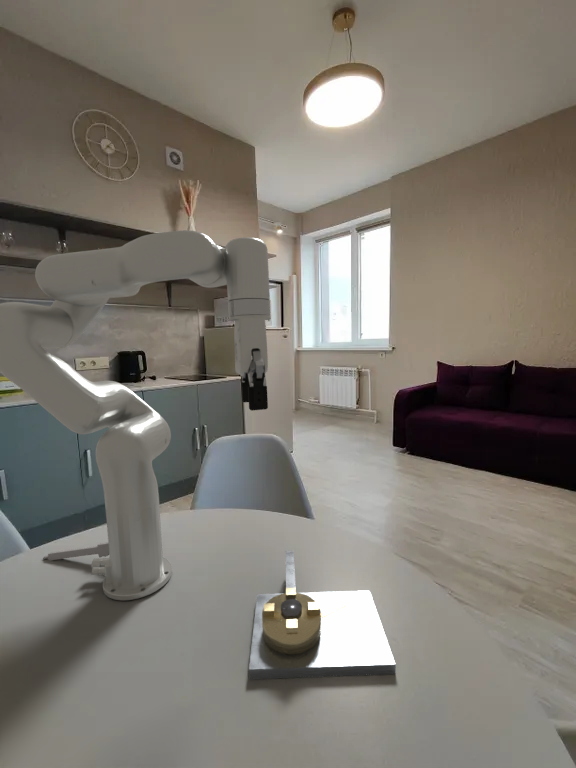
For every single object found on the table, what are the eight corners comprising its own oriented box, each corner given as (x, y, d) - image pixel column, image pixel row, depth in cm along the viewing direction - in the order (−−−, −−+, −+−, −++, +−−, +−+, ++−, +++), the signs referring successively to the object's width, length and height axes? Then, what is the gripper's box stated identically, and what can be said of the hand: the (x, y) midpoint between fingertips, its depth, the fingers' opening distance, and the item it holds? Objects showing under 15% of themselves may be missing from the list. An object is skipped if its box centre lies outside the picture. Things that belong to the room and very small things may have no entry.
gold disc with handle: (260, 655, 51) (259, 630, 51) (267, 567, 71) (266, 548, 71) (324, 652, 51) (323, 628, 51) (312, 565, 72) (312, 547, 71)
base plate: (249, 679, 49) (248, 668, 49) (257, 602, 64) (257, 593, 64) (395, 674, 49) (395, 663, 49) (369, 598, 64) (369, 589, 64)
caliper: (130, 565, 77) (131, 534, 77) (127, 567, 76) (128, 536, 76) (46, 558, 80) (48, 529, 81) (42, 560, 79) (44, 530, 80)
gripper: (225, 316, 73) (229, 400, 74) (233, 306, 56) (239, 415, 58) (261, 315, 74) (265, 398, 76) (280, 305, 58) (284, 411, 59)
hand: (254, 405), depth 67 cm, fingers open, 9 cm apart
